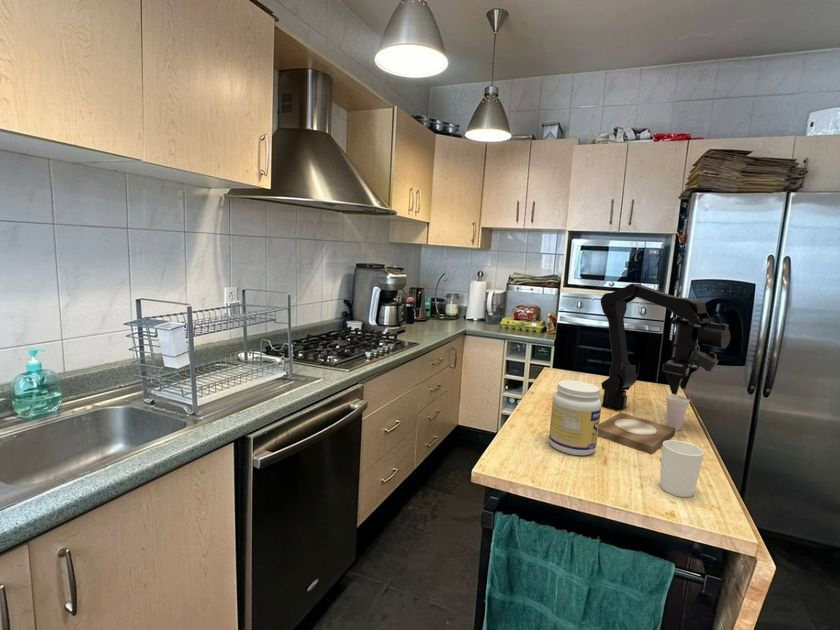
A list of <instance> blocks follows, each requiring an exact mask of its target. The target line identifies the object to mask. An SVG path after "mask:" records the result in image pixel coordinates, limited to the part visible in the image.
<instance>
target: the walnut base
mask: <svg viewBox="0 0 840 630" xmlns="http://www.w3.org/2000/svg"><path fill="white" fill-rule="evenodd" d="M675 430H676V428H673V427H669V426H667V424H666V425H665V424H662V423H658V422H656V421H655V422H654V421H651V420H647V419H644V418H641V417H638V416H634V415H632V414H628V413H624V412H621V411H619V412H618V413H616V414H615V415H613V416H610V417H609V418H608V419H606V420H604V421H602V422H599V429H598V438H601V439H605V440H608V441H611V442H614V443H616V444H620V445H622V446H626V447H628V448H632V449H634V450H637V451H640V452H643V453H646V454H649V455H653V454H655V452H656V451H658V450H659V449H661V448H662V447H663V442H664V441H667V440H672V438H673V437H675V435H676V431H675Z"/></svg>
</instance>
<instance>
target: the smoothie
mask: <svg viewBox="0 0 840 630" xmlns="http://www.w3.org/2000/svg"><path fill="white" fill-rule="evenodd" d="M679 391H680V388H679V389H678V392H677V394H676V395H674V394H668V395H666V396H665V400H666V426H669V427H673V428H676V430H675V432H679V431H678V430H680V431H681V429H682V425H683V422H684V420H685V417H686V416H685V415H686V412H687V409H688V405H690V399H689V398H686V397H685V396H680V395H679Z"/></svg>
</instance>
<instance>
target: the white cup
mask: <svg viewBox="0 0 840 630" xmlns="http://www.w3.org/2000/svg"><path fill="white" fill-rule="evenodd" d="M661 448H662V449H661V459H660V460H661V461H660V473H659V474H660V479H659V487H660V488H661V489H662V490H663V491H665V492H667V494H668V493H669V494H670V495H673V496H676V497H681V498H691V497H693V496H694V494H695V491H696V486H697V483H698V480H699V477H700V471H701V467H702V462H703V458H704V455H705V454H704V453H705V452H704V450H703V449H702V448H700V447H698V446H697V445H695V444H692V443H689V442H685V441H681V440H674V439H670V440H667V441H664V442H663V446H661Z"/></svg>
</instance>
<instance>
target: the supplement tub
mask: <svg viewBox="0 0 840 630" xmlns="http://www.w3.org/2000/svg"><path fill="white" fill-rule="evenodd" d="M556 390H557V391H556V392H555V393H554V394H553V397H552V404H551V414H550V423H549V433H548V434H549V435H548V441H549V443H550V445H551V446H552V448H555V449H556V450H558V451H559V452H562V453H564V454H569V455H573V456H588V455H591V454H593V453H594V452H595V451H596V449H597V445H598V444H597V443H598V438H599V436H598V429H599V424H600V418H601V411H602V406H601V404H602V401H601V399H600V398H599V397H600V388H599V386H597V385H595V384H592V383H589V382H585V381H580V380H571V379H568V380H560V381H559V382H558V384H557V387H556Z"/></svg>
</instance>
